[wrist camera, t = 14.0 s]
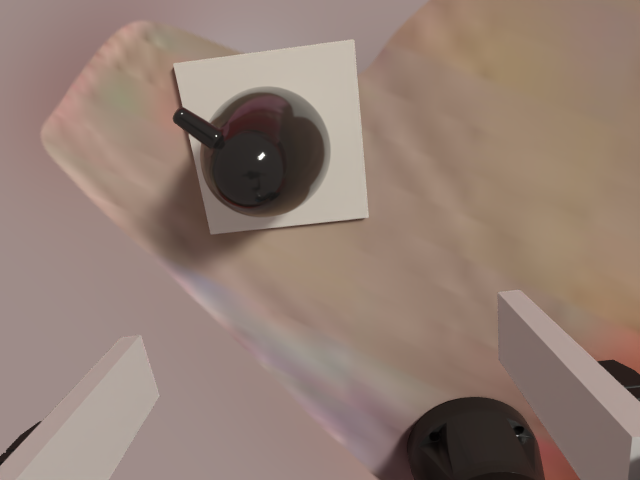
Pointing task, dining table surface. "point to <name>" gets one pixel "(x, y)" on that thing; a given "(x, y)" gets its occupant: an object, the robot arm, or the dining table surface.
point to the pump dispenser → (261, 150)
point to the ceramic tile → (320, 91)
